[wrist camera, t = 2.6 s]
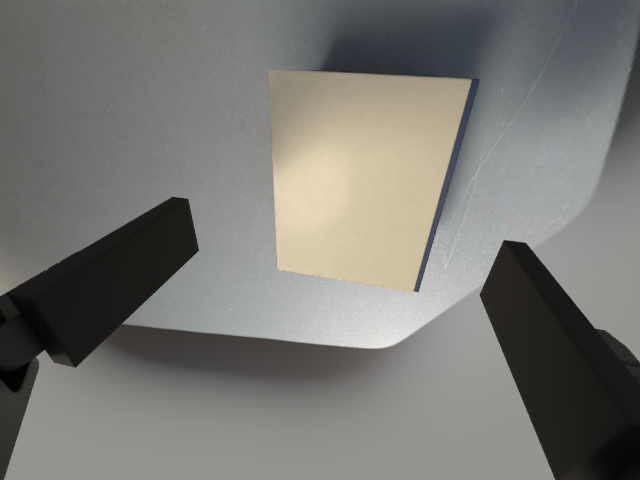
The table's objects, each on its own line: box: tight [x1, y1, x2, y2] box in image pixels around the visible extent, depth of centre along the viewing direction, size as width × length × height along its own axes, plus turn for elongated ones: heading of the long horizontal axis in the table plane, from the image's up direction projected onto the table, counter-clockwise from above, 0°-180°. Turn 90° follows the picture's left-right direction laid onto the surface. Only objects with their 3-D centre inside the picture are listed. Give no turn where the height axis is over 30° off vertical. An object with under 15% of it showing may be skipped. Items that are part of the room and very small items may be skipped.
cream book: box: [268, 69, 479, 292], centre depth 18 cm, size 10×13×2 cm
